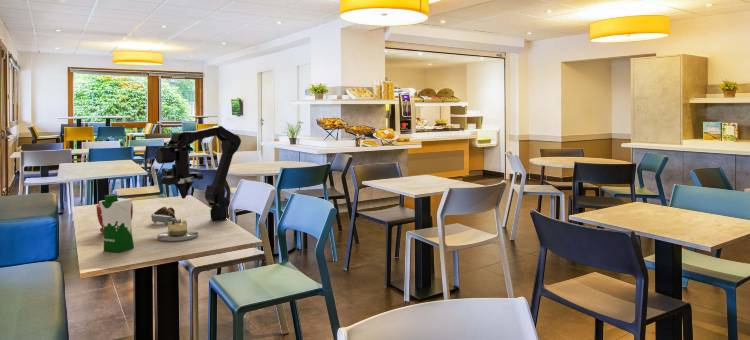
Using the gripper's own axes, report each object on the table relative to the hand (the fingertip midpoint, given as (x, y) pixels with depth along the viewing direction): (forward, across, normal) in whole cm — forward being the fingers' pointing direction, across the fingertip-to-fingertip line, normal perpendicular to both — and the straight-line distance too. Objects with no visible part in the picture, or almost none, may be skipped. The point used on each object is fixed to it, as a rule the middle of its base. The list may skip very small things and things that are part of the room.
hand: (183, 198), depth 225 cm
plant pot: (+12, +20, -17) cm, 29 cm away
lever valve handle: (+11, +15, +7) cm, 20 cm away
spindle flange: (+12, +15, +11) cm, 22 cm away
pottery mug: (+12, -2, -13) cm, 18 cm away
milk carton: (+12, +37, +5) cm, 40 cm away
